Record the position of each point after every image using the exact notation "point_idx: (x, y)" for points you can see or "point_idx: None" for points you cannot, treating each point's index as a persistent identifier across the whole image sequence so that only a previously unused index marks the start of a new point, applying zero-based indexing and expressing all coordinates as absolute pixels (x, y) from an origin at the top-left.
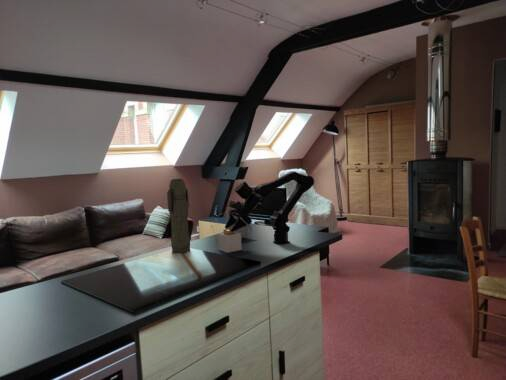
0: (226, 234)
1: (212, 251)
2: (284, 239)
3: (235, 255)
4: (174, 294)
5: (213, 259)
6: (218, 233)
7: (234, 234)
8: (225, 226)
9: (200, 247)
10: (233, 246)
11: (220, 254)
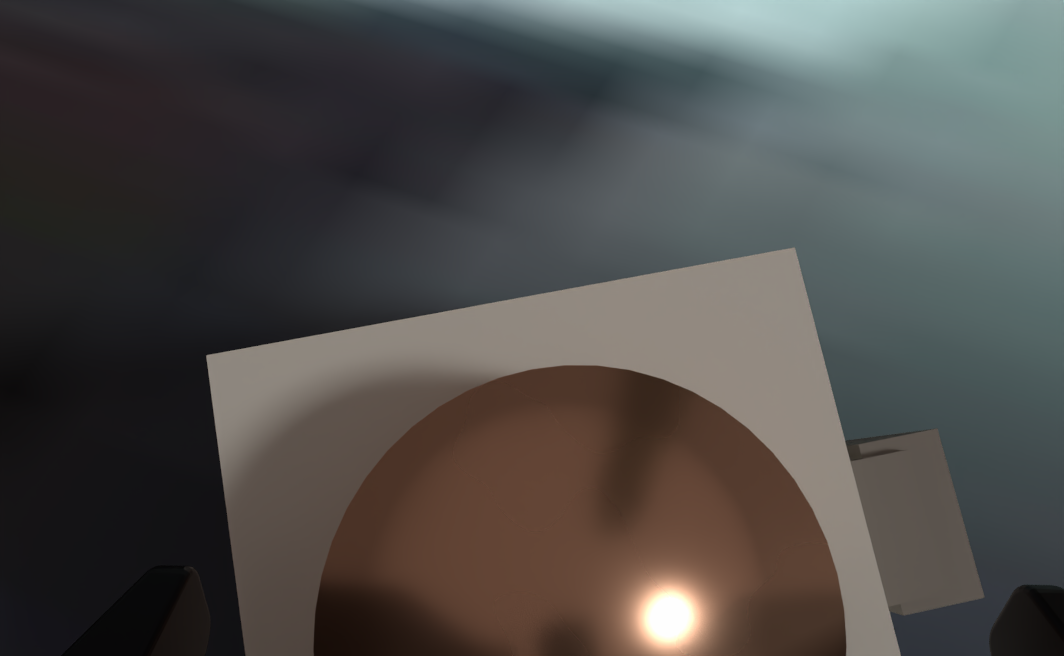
0: None
1: (606, 194)
2: None
3: (19, 485)
4: None
5: (21, 25)
6: (780, 264)
7: None
8: (1057, 622)
9: (1050, 97)
10: None
11: (286, 250)
